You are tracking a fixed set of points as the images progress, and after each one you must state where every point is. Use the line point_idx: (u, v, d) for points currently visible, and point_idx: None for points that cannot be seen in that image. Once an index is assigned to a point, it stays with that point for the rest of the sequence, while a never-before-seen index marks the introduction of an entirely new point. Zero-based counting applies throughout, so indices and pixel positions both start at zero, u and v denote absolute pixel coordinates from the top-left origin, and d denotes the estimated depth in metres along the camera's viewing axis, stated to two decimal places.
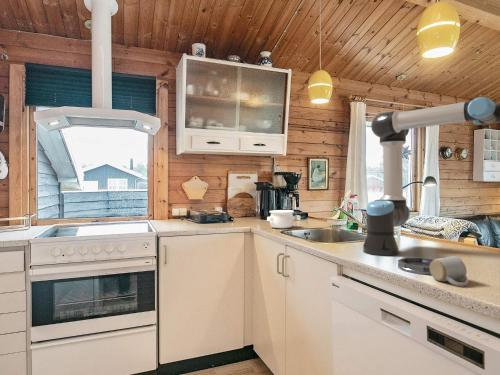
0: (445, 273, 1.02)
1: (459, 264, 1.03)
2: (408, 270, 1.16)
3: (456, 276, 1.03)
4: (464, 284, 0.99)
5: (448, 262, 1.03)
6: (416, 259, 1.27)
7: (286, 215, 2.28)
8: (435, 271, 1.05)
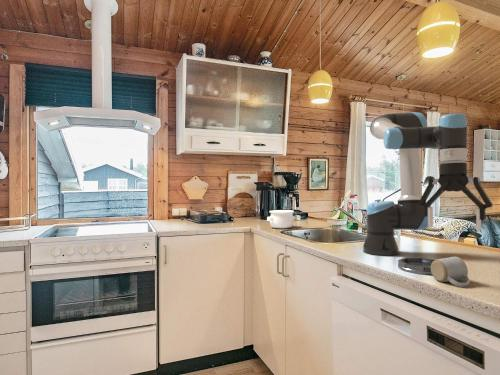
0: (447, 273, 1.01)
1: (460, 264, 1.03)
2: (408, 270, 1.16)
3: (457, 276, 1.02)
4: (465, 284, 0.99)
5: (450, 262, 1.03)
6: (416, 259, 1.27)
7: (286, 215, 2.28)
8: (437, 271, 1.05)
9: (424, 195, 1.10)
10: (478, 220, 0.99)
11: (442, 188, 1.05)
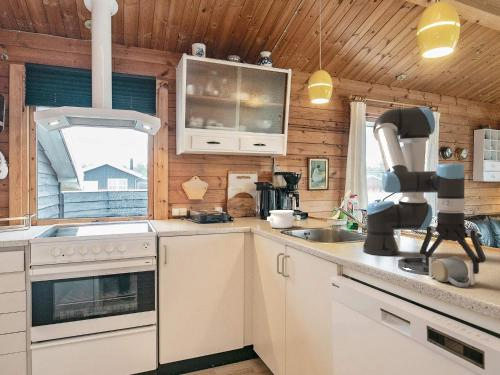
0: (447, 273, 1.01)
1: (460, 264, 1.02)
2: (408, 270, 1.16)
3: (458, 276, 1.02)
4: (466, 285, 0.98)
5: (450, 262, 1.03)
6: (416, 259, 1.27)
7: (286, 215, 2.28)
8: (437, 271, 1.05)
9: (424, 244, 1.09)
10: (471, 274, 0.99)
11: (440, 237, 1.05)
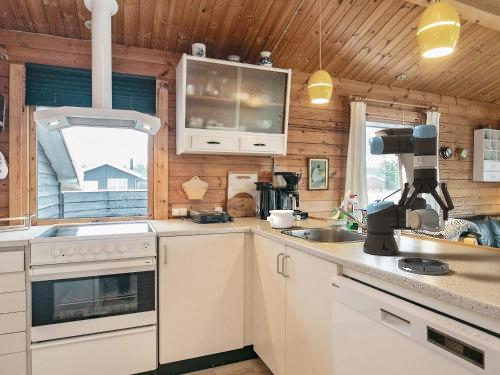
0: (421, 221, 1.15)
1: (433, 214, 1.16)
2: (408, 270, 1.16)
3: (430, 224, 1.16)
4: (436, 230, 1.13)
5: (424, 212, 1.17)
6: (416, 259, 1.27)
7: (286, 215, 2.28)
8: (412, 221, 1.19)
9: (402, 198, 1.23)
10: (442, 221, 1.14)
11: (416, 191, 1.19)
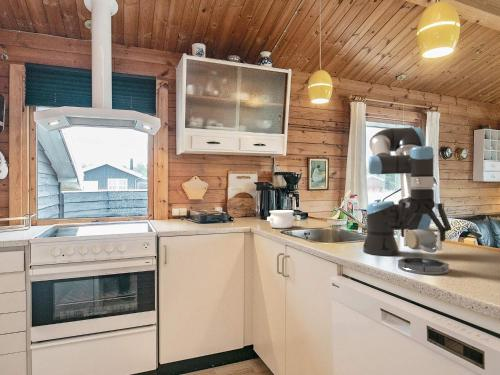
0: (418, 241, 1.16)
1: (430, 234, 1.18)
2: (408, 270, 1.16)
3: (427, 244, 1.17)
4: (433, 250, 1.14)
5: (421, 232, 1.18)
6: (416, 259, 1.27)
7: (286, 215, 2.28)
8: (410, 240, 1.20)
9: (400, 218, 1.25)
10: (439, 241, 1.15)
11: (413, 211, 1.20)
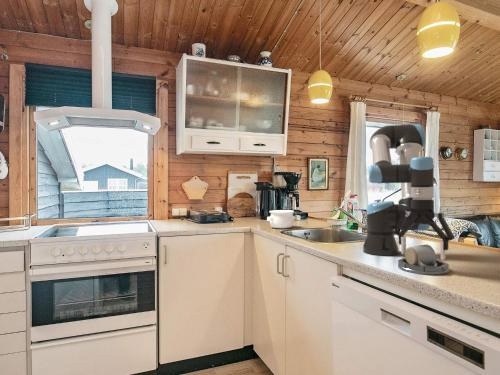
0: (417, 258, 1.17)
1: (429, 251, 1.18)
2: (408, 270, 1.16)
3: (427, 261, 1.17)
4: None
5: (420, 249, 1.18)
6: None
7: (286, 215, 2.28)
8: (409, 257, 1.20)
9: (398, 226, 1.25)
10: (442, 250, 1.14)
11: (413, 221, 1.21)
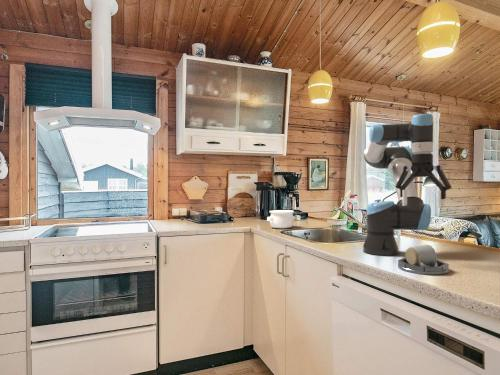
0: (418, 258, 1.17)
1: (430, 251, 1.18)
2: (408, 270, 1.16)
3: (427, 261, 1.17)
4: None
5: (421, 249, 1.18)
6: None
7: (286, 215, 2.28)
8: (410, 257, 1.20)
9: (400, 180, 1.35)
10: (439, 199, 1.24)
11: (413, 174, 1.31)
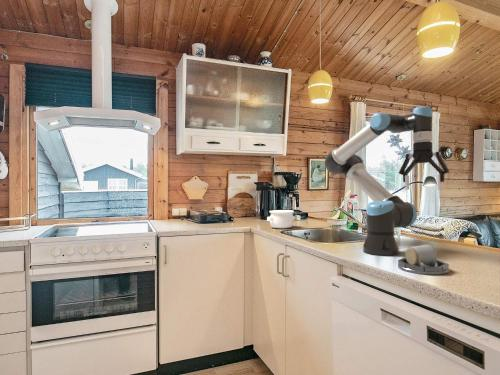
0: (418, 258, 1.17)
1: (430, 251, 1.18)
2: (408, 270, 1.16)
3: (427, 261, 1.17)
4: None
5: (421, 249, 1.18)
6: None
7: (286, 215, 2.28)
8: (410, 257, 1.20)
9: (402, 166, 1.50)
10: (439, 182, 1.39)
11: (415, 160, 1.45)
